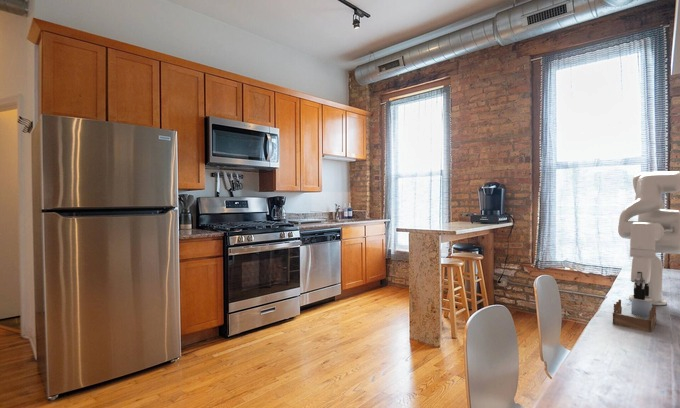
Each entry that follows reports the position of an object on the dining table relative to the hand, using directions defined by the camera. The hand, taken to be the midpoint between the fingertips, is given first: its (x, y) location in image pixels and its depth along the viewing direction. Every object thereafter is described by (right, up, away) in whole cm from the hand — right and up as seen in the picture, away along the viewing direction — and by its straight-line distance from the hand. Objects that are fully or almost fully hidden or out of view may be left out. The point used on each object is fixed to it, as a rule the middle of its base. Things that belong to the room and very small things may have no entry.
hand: (641, 297), depth 139 cm
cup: (+1, -7, +1) cm, 7 cm away
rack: (-10, -7, -9) cm, 16 cm away
